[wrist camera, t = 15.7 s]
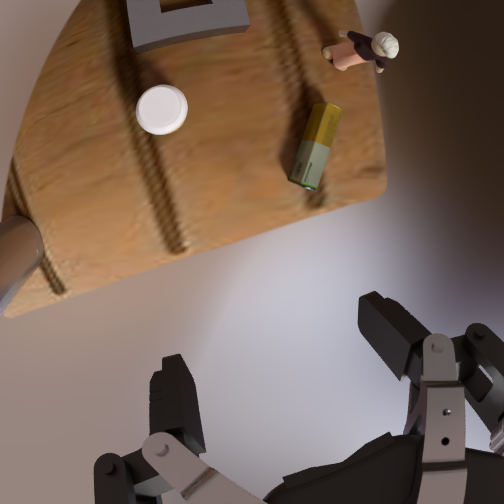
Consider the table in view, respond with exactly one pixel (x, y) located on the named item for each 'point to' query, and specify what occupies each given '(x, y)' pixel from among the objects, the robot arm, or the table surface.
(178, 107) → the supplement bottle
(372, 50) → the grandmother figurine
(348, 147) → the table surface
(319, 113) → the medication box
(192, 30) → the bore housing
